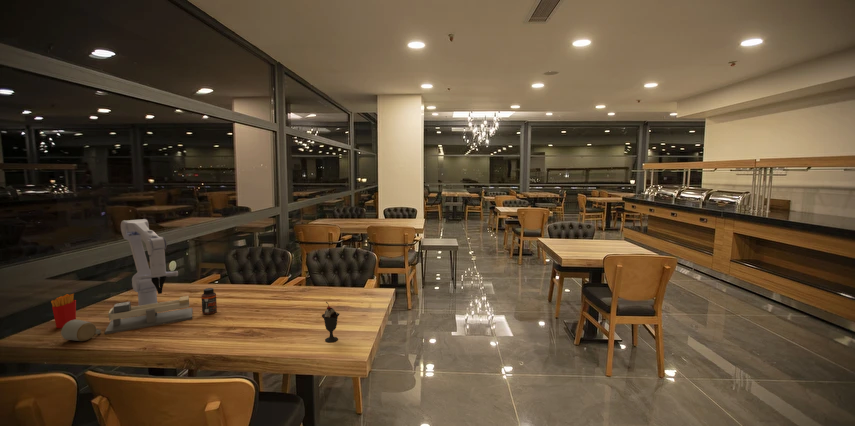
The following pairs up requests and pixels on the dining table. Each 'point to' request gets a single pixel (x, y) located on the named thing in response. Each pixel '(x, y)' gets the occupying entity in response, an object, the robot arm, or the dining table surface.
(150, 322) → the stand
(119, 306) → the rider
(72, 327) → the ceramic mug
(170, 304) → the beam
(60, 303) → the french fries
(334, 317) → the sundae
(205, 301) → the supplement bottle
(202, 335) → the dining table surface
